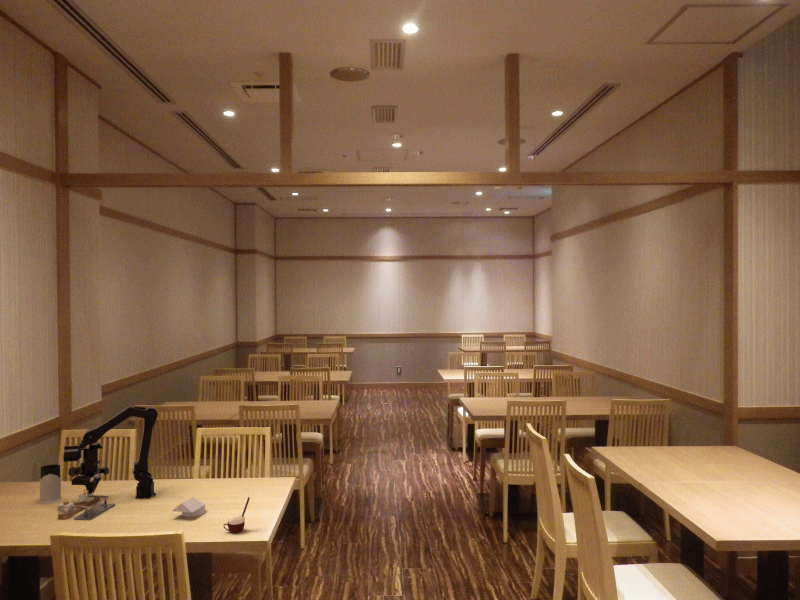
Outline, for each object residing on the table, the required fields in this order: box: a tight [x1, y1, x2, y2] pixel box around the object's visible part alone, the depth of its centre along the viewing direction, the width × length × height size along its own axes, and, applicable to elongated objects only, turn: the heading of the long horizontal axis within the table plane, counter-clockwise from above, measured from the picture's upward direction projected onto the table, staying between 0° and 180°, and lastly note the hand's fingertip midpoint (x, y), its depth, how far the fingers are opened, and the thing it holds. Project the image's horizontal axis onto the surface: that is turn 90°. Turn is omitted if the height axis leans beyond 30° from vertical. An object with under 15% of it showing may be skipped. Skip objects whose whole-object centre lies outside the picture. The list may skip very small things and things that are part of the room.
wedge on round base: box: [171, 496, 206, 518], centre depth 247 cm, size 9×7×13 cm
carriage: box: [77, 489, 110, 504], centre depth 259 cm, size 12×4×6 cm, turn 86°
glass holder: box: [38, 464, 63, 505], centre depth 268 cm, size 9×14×15 cm, turn 25°
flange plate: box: [73, 502, 116, 521], centre depth 251 cm, size 7×18×1 cm, turn 176°
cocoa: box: [223, 496, 250, 534], centre depth 229 cm, size 10×6×12 cm, turn 87°
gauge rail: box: [57, 497, 101, 521], centre depth 254 cm, size 12×24×7 cm, turn 176°
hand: (90, 495), depth 262 cm, fingers closed
